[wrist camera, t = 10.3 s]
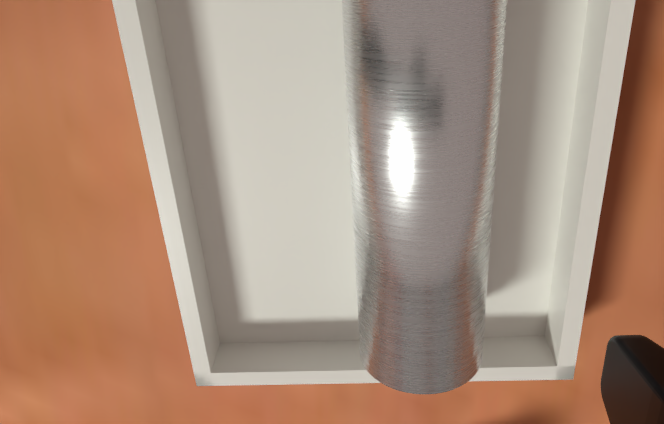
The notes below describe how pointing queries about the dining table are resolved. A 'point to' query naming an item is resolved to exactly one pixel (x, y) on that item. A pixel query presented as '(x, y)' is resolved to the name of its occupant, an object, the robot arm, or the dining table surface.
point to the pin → (422, 182)
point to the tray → (335, 181)
